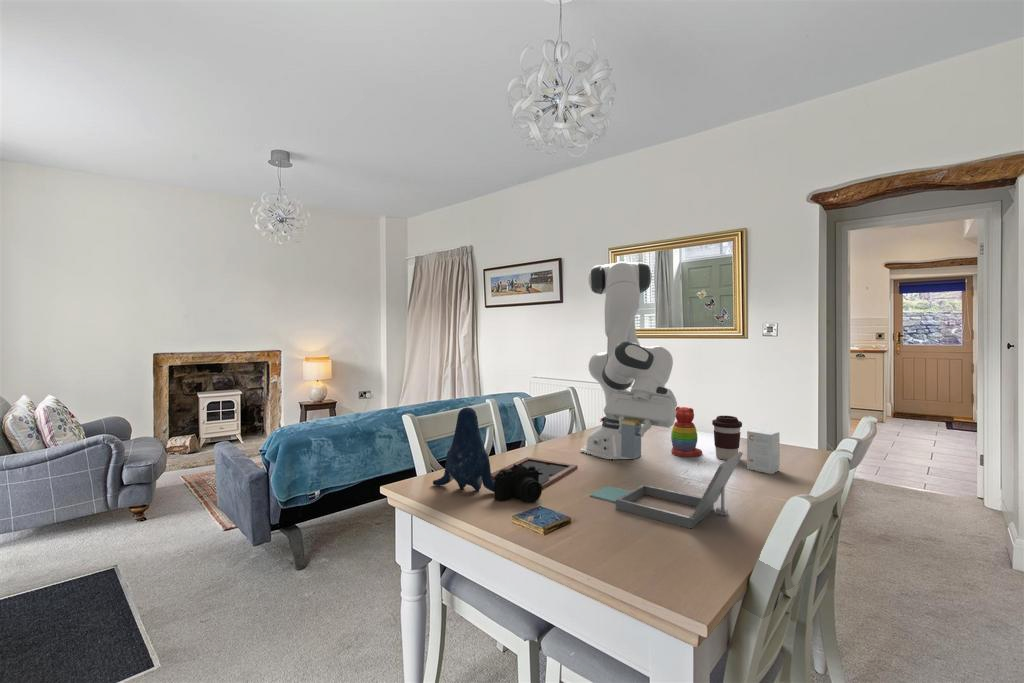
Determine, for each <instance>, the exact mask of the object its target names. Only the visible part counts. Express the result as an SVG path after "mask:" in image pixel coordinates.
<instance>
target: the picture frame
mask: <svg viewBox="0 0 1024 683" xmlns="http://www.w3.org/2000/svg"><path fill="white" fill-rule="evenodd" d="M519 463H520V464H522V465H523V466H525V467H526V468H527V469H528V468H529V467H530V466H535V469H536V470H538V472H539V473H543V475H539V483H540V485H541V488H542V491H543V490H544V489H546V488H547V487H549V486H551V485H553V484H555V483H556V482H557V480H558V481H559V480H561V479H563V478H565V477H566V476H567V474H568V475H569V474H571V473H572V471H573V472H574V471H576V470H577V468H578V464H572V463H565V462H560V461H559V462H558V461H553V460H545V459H540V458H533V457H528V456H527V457H525V458H522V459H520V460H518V461H515V462H513V463H511V464H509V465H507V466H504V467H502V468H500V469H499V470H496V471H493V472H491V477H492V479H493V481H494V480H495V475H497V474H498V472H499V471H500V470H503V469H507V470H511V469H512V468H513V466H514V464H516V465H518V464H519ZM575 469H576V470H575ZM570 472H571V473H570ZM565 475H566V476H565ZM562 477H563V478H562Z"/></svg>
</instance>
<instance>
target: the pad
mask: <svg viewBox="0 0 1024 683" xmlns="http://www.w3.org/2000/svg"><path fill="white" fill-rule="evenodd" d="M630 491H631V490H626V489H622V488H618V487H614V486H611V485H610V486H609V485H606V486H604V487H602V488H600V489H598V490H596V491H594V492H592V493H590V494H589V497H592V498H595V499H600V500H604V501H608V502H612V503H614V504H616V499H618V498H619V497H621V496H623V495H625V494H627V493H628V492H630Z"/></svg>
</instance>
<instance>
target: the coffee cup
mask: <svg viewBox="0 0 1024 683" xmlns="http://www.w3.org/2000/svg"><path fill="white" fill-rule="evenodd" d="M711 424H712V426H713V439H714V447H715V457H716V458H718V459H719V460H723V461H727V460H728V459H730V458H731V457H733V456H734V455H736V454H737V453H739V448H740V444H741V442H740V440H741V428H742V427H743V422H742V421H740V420H739V419H738V417H737V416H734V415H733V416H732V415H717V416H716V418H715V419H713V420H712V421H711Z"/></svg>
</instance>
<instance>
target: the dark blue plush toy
mask: <svg viewBox="0 0 1024 683" xmlns="http://www.w3.org/2000/svg"><path fill="white" fill-rule="evenodd" d="M456 418H457V419H456V423H455V424H456V425H455V430H454V434H453V438H452V443H451V447H450V448H449V450H448V451H447V454H446V457H445V458H446V459H445V467H444V473H443V476H442V477H440V478H438V479H435V480H432V485H434V486H445V485H447V484H449V483H451V482H452V481H453V480H454V481H455V482H456V483H457V485H458V488H459V489H461V490H463V489H465V487H466V486H470V487H472V488H473V489H474V490H475V491H477V492H478V491H479V490H481V489H482V485H483V487H484V488H485V489H487V490H489V491H490V492H493V493H495V491H494V480H493V479H492V477H491V473H492V471H491V462H490V458H489V454H488V452H487V450H486V448H485V445H484V441H483V439H482V435H481V432H480V428H479V420H478V416H477V413H476V411H475V409H473V408H472V407H463V408H462V409H460V410H459V411H458V415H457V417H456Z"/></svg>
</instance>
